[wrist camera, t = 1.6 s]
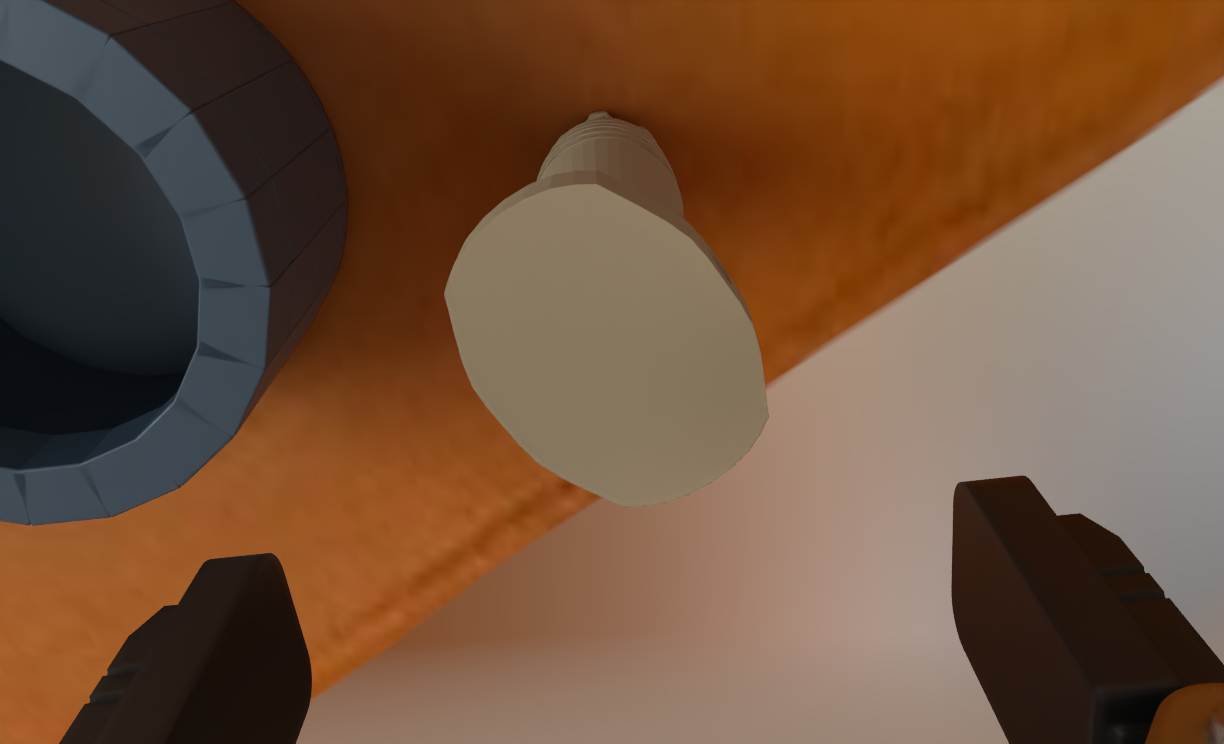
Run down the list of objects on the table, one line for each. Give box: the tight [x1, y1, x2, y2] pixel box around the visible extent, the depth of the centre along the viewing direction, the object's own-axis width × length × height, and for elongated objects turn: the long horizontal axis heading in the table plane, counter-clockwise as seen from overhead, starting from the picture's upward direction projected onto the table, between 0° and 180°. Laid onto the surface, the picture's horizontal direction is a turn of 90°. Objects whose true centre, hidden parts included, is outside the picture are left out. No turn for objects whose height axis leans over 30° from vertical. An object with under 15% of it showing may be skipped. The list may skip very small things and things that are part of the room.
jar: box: [0, 0, 347, 525], centre depth 28 cm, size 14×14×8 cm
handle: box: [444, 111, 769, 507], centre depth 25 cm, size 5×6×15 cm
